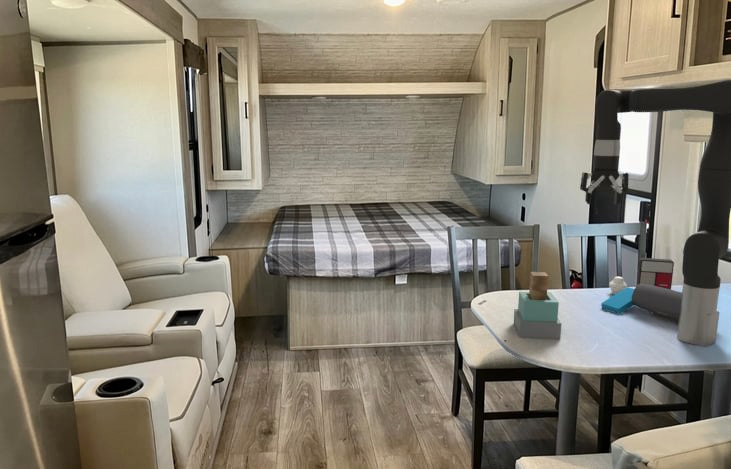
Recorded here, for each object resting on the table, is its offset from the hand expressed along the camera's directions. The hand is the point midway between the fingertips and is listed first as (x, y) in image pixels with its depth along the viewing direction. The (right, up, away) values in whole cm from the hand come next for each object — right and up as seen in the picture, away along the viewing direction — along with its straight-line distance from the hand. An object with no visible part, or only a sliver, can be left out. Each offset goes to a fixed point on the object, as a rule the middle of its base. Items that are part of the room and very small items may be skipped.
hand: (602, 204), depth 178 cm
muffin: (+20, -33, +32) cm, 50 cm away
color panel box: (+30, -34, +25) cm, 52 cm away
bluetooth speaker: (+24, -38, +4) cm, 45 cm away
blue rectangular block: (+16, -36, +16) cm, 43 cm away
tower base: (-24, -40, -7) cm, 47 cm away
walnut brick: (-24, -30, -9) cm, 40 cm away
